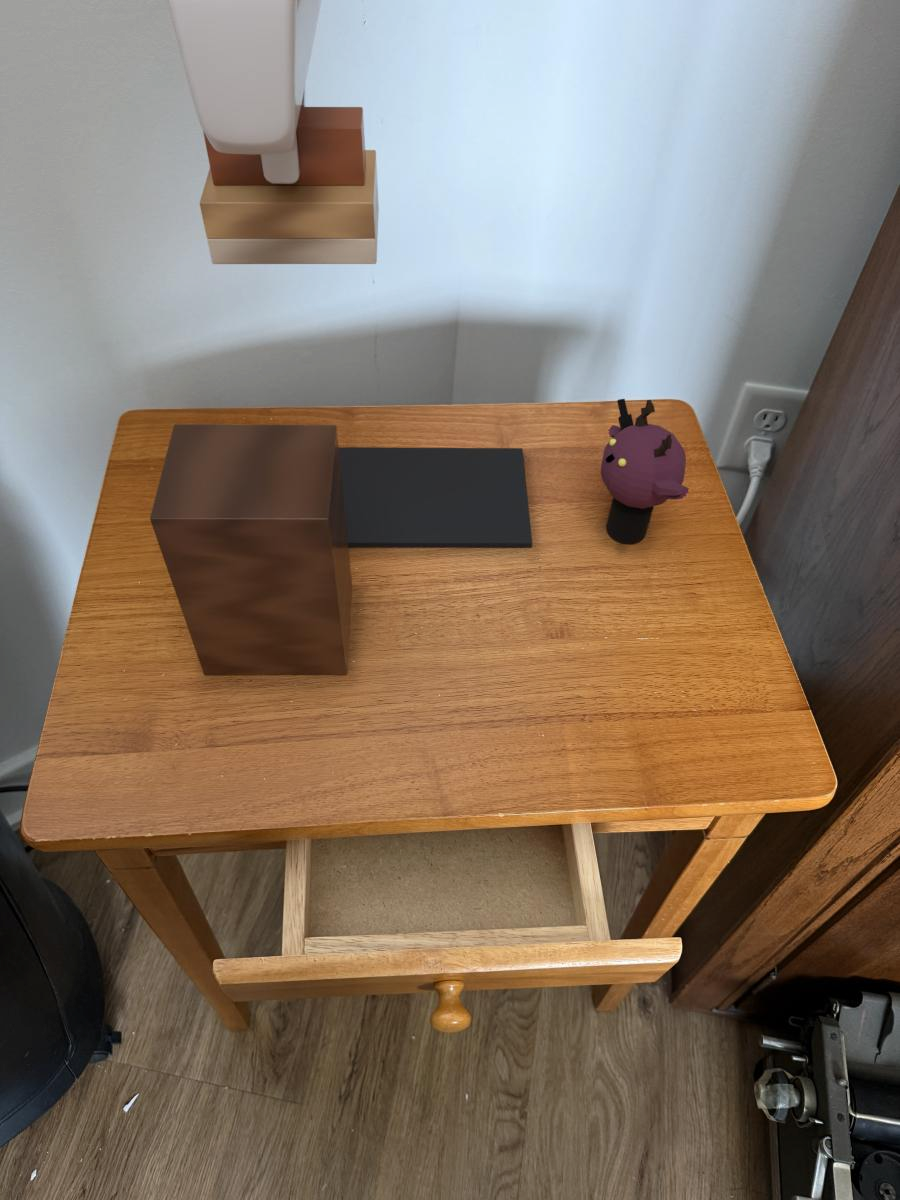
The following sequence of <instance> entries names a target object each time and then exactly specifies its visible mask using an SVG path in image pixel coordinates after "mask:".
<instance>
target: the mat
mask: <svg viewBox="0 0 900 1200" xmlns="http://www.w3.org/2000/svg"><path fill="white" fill-rule="evenodd" d="M339 456H340V466H341V476H342V487H343V497H344V507H345V518H346V528H347V538H348V548H484V549H485V548H491V549H493V548H494V549H495V548H496V549H497V548H502V549H503V548H508V549H509V548H517V549H519V548H522V549H523V548H524V549H525V548H532V547H533V539H532V538H533V537H532V528H531V517H530V509H529V500H528V489H527V478H526V469H525V459H524V452H523V448H522V447H381V446H379V447H373V446H372V447H370V446H367V447H366V446H365V447H364V446H363V447H362V446H358V447H357V446H354V447H353V446H351V447H350V446H339Z"/></svg>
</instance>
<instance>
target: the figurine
mask: <svg viewBox="0 0 900 1200" xmlns="http://www.w3.org/2000/svg"><path fill="white" fill-rule="evenodd" d="M616 403H617V406H618V411H619V417H618V419H617V420H618V424H619V426H618V425H615V424H612V425H611V426H610V427H609V429H608V434H609V435H608V436H609V437H610V438H611V439H610V440H608V442H607V444H605V447H604V451H603V454H602V460H601V466H600V476H601V479H602V482H603V483H604V485H605V487H606V489H607V491H608V492H609V494H610V496H611V497H612V500H611V504H610V508H609V513H608V517H607V520H606V524H605V525H606V526H605V529H606V533H607V535H608V536H609V538H611V539H612V540H613V541H615V542H616V543H619V544H622V545H635V544H638V543H640V542H642V541H643V540H644V539H645V538H646V536H647V531H648V528H649V525H650V522H651V518H652V515H653V511H654V507H657V506H660V505H662V504H664V503H665V502H666V501H668V500H682V499H684V497H687V494H689V489H690V488H689V487H687V486H685V485H683V482H684V480H685V474H686V464H687V457H686V451H685V449H684V447H683V446H682V445H681V443H680V441H679V440H678V439H677V437H676V436H675V434H674V433H673V432H671V431H669V430H668V429H666V428H664V427H662V426H661V425H658V424H651V423H649V422H648V418H647V417H648V416H649V415H650V414H652V413H655V412H656V411H655V405H654V403H653V402H652V400H651V399H647V400H646V403H645V407H641V408H640V414H639V416H637V417H636V418H635V421H634V420H633V415H632V413H630V414H629V412H628V408H627V403H626V399H625V398H620V399H617V401H616Z"/></svg>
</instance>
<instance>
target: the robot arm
mask: <svg viewBox="0 0 900 1200" xmlns="http://www.w3.org/2000/svg"><path fill="white" fill-rule="evenodd" d="M167 4H168V8H169V12H170V17H171V20H172V24H173V29H174V33H175V37H176V41H177V45H178V49H179V52H180V57H181V60H182V64H183V69H184V72H185V75H186V79H187V83H188V87H189V90H190V94H191V99H192V102H193V105H194V109H195V110H194V111H195V113H196V116H197V119H198V121H199V125H200V127H201V129H202V132H203V131H204V133H205V135H206V137H207V138H208V140H209V142H210V143H211V145H212V146H213V148H214V149H215V150H216V151H218V152H221V153H227V154H261V160H262V166H263V172H264V176H265V178H266V180H267V181H269V182H271V183H284V184H292V183H295V182H296V181H297V180H298V178H299V173H300V168H301V157H300V148H299V139H298V136H296V129H297V124H298V119H299V114H300V109H301V107H307V106H306V84H307V83H306V82H307V79H308V78H307V77H308V74H309V73H308V72H309V69H310V68H309V66H310V61H311V58H312V57H311V56H312V52H313V46H314V41H315V36H316V31H317V26H318V21H319V17H320V16H319V15H320V11H321V5H322V0H167ZM204 133H203V134H204Z"/></svg>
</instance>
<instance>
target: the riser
mask: <svg viewBox="0 0 900 1200" xmlns="http://www.w3.org/2000/svg"><path fill="white" fill-rule="evenodd" d="M168 442H169V443H168V446H167V451H166V453H165V454H166V455H165V457H164V461H163V466H162V469H161V472H160V478H159V482H158V485H157V488H156V492H155V496H154V500H153V505H152V508H151V513H150V516H149V521H150V523H151V526H152V530H153V532H154V535H155V538H156V540H157V543H158V547H159V549H160V552H161V555H162V558H163V561H164V564H165V567H166V569H167V573H168V575H169V578H170V581H171V583H172V586H173V588H174V592H175V595H176V598H177V601H178V604H179V607H180V609H181V612H182V614H183V618H184V621H185V624H186V627H187V629H188V632H189V635H190V638H191V641H192V644H193V647H194V650H195V653H196V655H197V658H198V661H199V665H200V667H201V671H202V673H203V675H204V676H347V675H348V664H349V663H348V662H349V648H350V647H349V646H350V631H351V630H350V628H351V615H352V599H353V597H352V596H353V582H352V581H353V579H352V572H351V571H352V569H351V561H350V550H349V549H350V548H349V547H348V538H347V528H346V518H345V507H344V497H343V487H342V476H341V466H340V456H339V447H340V446H339V436H338V427H337V425H336V424H212V423H211V424H205V423H204V424H196V423H195V424H193V423H190V424H189V423H188V424H187V423H186V424H185V423H182V424H181V423H174V424H173V427H172V431H171V434H170V438H169V441H168Z"/></svg>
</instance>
